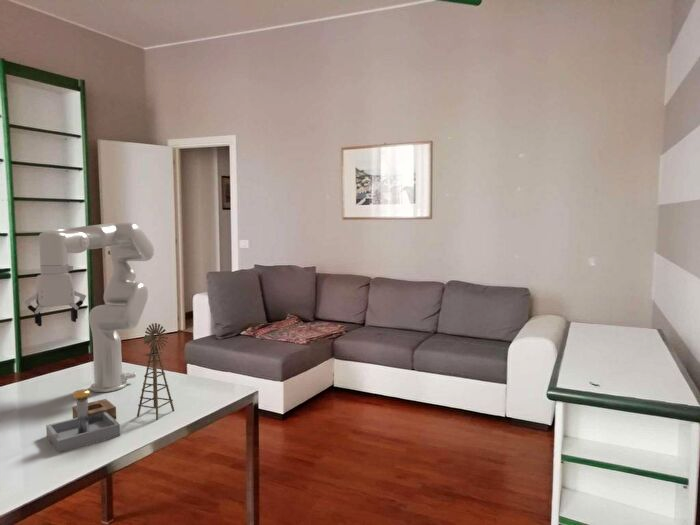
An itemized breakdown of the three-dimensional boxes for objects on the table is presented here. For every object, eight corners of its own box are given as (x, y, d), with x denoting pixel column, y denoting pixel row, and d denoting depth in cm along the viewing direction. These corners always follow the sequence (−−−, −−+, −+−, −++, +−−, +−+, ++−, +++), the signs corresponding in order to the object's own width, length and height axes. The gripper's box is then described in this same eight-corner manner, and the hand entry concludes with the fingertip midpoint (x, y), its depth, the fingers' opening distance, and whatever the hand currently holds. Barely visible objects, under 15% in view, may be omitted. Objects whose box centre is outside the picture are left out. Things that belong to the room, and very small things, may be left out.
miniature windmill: (175, 410, 161) (173, 322, 158) (158, 420, 153) (155, 327, 150) (153, 407, 164) (151, 320, 161) (135, 416, 156) (132, 325, 153)
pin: (89, 428, 145) (87, 388, 144) (93, 433, 142) (91, 391, 141) (73, 432, 142) (71, 391, 141) (77, 437, 139) (75, 395, 138)
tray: (105, 421, 152) (104, 410, 152) (120, 435, 142) (119, 424, 142) (46, 436, 141) (46, 425, 141) (58, 452, 131) (57, 441, 131)
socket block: (106, 410, 161) (105, 398, 161) (116, 419, 154) (115, 407, 153) (72, 418, 154) (72, 406, 154) (81, 428, 147) (81, 415, 147)
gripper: (81, 268, 162) (83, 318, 163) (19, 271, 150) (22, 325, 151) (87, 269, 156) (89, 321, 158) (24, 273, 145) (27, 329, 146)
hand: (56, 323), depth 155 cm, fingers open, 9 cm apart
